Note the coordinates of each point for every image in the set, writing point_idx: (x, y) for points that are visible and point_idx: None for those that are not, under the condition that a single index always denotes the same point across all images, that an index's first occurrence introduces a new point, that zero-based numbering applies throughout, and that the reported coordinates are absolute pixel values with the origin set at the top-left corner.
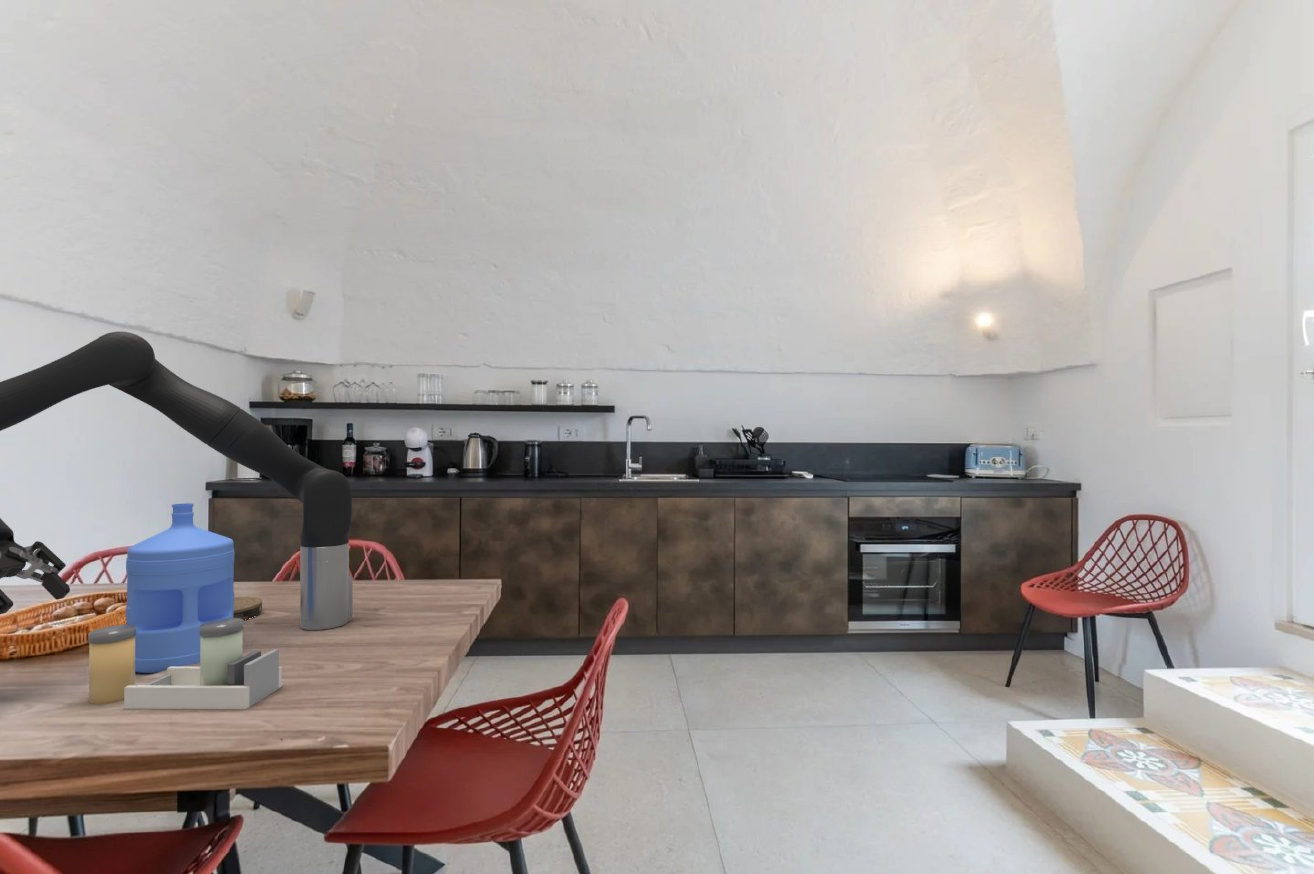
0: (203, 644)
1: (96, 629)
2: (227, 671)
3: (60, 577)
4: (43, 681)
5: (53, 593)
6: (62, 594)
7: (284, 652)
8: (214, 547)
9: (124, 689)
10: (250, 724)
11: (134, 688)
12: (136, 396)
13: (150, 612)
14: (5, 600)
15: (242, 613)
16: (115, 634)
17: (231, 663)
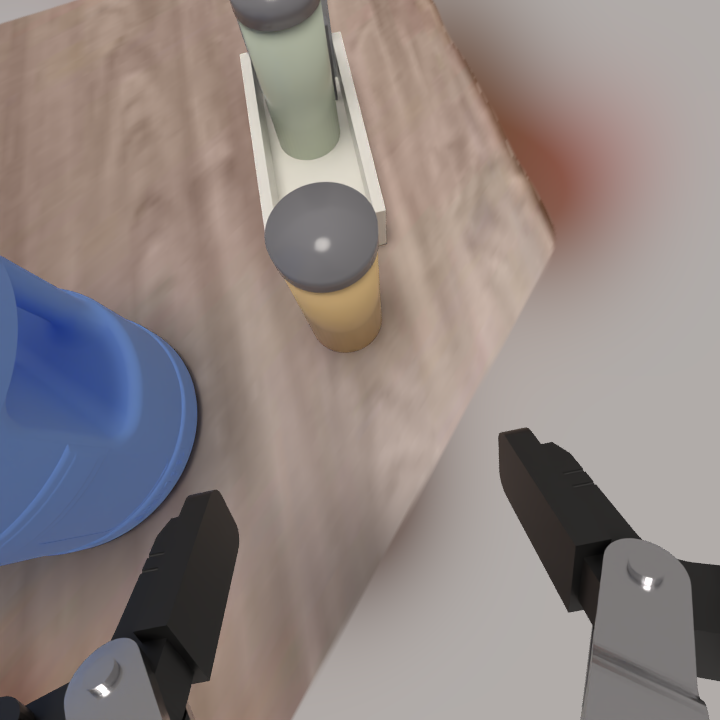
0: (321, 23)
1: (326, 280)
2: (329, 39)
3: (126, 609)
4: (267, 634)
5: (227, 566)
6: (224, 510)
7: (55, 245)
8: None
9: (385, 212)
10: (368, 54)
11: (381, 194)
12: None
13: (56, 409)
14: (537, 444)
15: None
16: (350, 187)
17: None
